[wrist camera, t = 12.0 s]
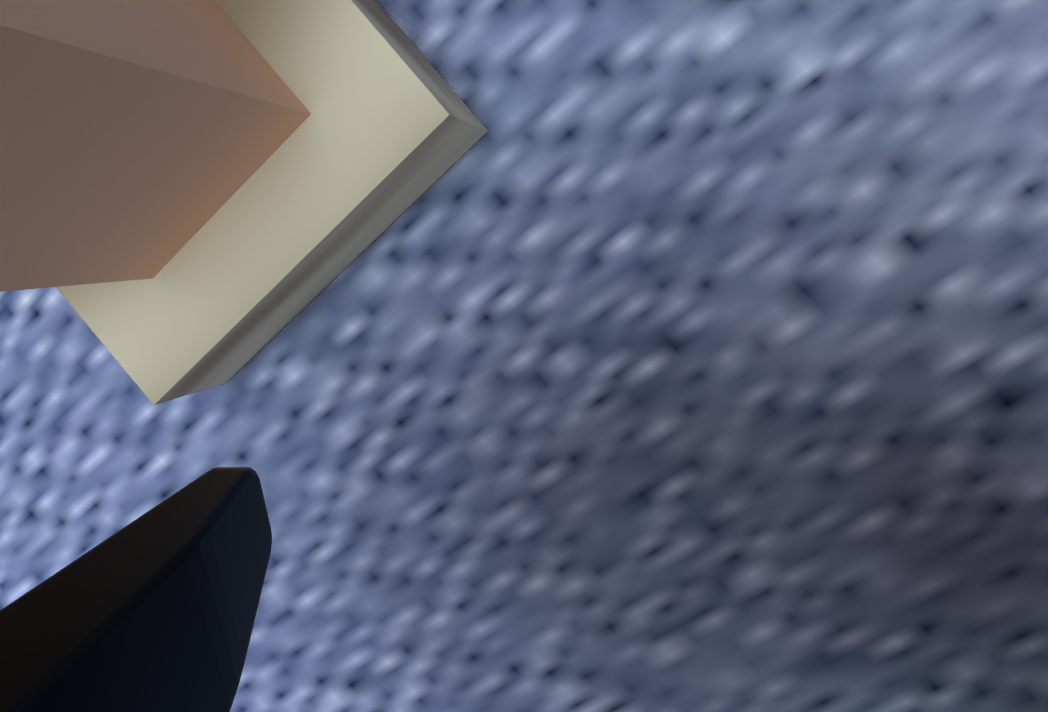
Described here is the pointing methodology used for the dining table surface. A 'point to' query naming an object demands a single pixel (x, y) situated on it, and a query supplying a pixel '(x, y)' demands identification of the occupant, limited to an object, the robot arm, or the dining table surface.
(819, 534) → the dining table surface
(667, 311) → the dining table surface
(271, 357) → the dining table surface
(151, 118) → the brown block
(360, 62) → the plinth
